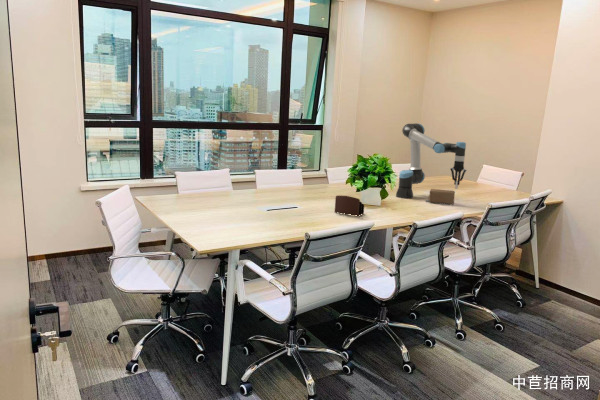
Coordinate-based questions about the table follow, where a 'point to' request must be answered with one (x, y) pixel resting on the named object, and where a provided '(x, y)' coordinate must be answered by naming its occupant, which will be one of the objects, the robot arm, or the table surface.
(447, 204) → the mat
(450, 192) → the wooden block
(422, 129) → the robot arm
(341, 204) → the letter holder
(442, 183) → the table surface
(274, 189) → the table surface
